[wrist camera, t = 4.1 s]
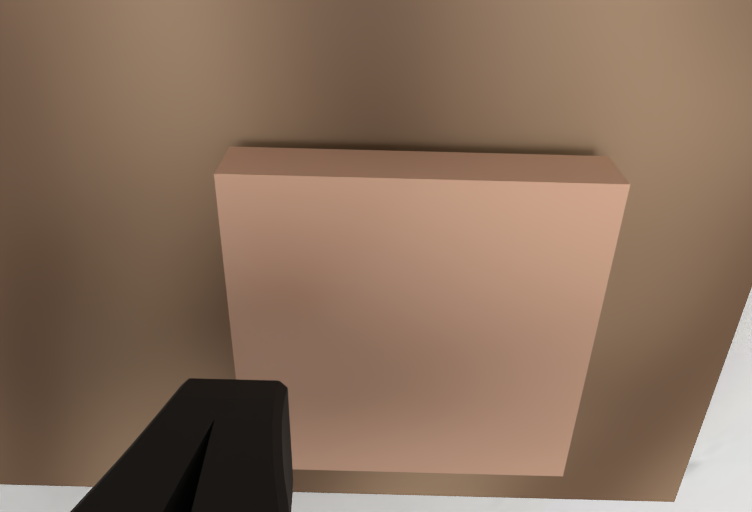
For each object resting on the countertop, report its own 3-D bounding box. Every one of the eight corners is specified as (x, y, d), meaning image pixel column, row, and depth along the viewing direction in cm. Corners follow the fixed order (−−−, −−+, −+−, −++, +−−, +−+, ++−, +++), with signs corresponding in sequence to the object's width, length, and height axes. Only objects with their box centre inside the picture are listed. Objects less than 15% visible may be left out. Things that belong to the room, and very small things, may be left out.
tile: (245, 468, 13) (562, 476, 13) (213, 173, 10) (630, 184, 10) (259, 409, 14) (545, 416, 14) (235, 135, 11) (599, 144, 11)
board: (1, 444, 16) (-26, 483, 15) (-176, -49, 11) (-236, -40, 10) (655, 461, 16) (673, 501, 15) (813, -23, 11) (859, -13, 10)
